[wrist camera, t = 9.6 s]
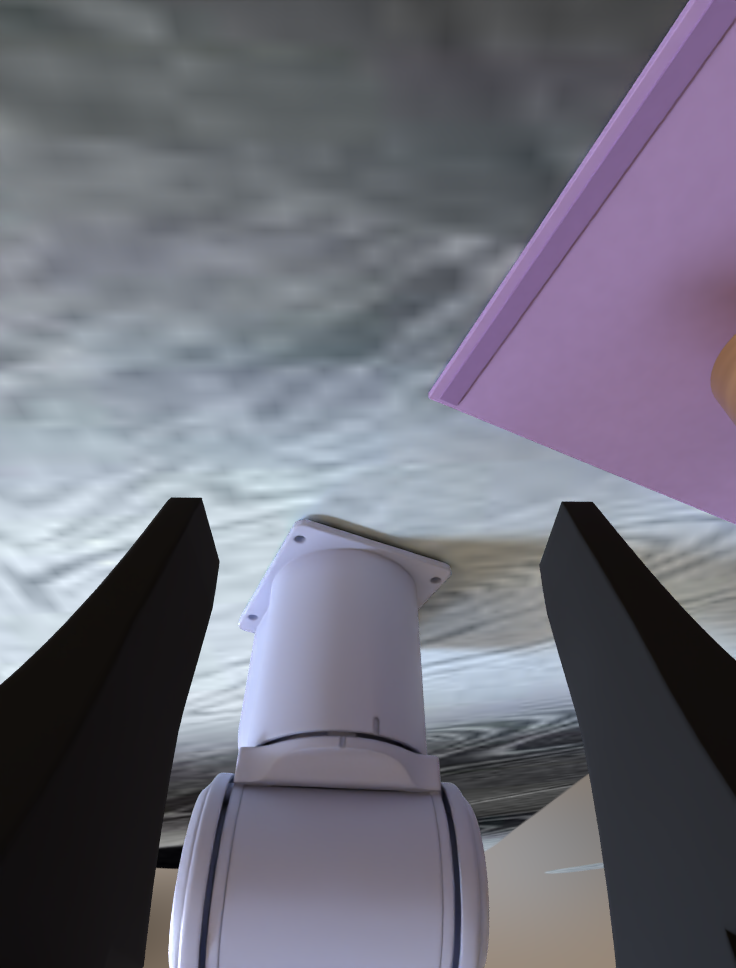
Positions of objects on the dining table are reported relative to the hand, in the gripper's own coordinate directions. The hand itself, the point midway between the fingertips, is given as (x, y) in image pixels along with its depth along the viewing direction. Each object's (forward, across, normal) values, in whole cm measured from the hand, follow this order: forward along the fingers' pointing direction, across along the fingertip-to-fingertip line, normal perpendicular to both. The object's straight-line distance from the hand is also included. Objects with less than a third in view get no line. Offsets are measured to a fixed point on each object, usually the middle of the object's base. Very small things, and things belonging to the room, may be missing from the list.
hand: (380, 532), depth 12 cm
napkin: (+9, -14, +1) cm, 17 cm away
